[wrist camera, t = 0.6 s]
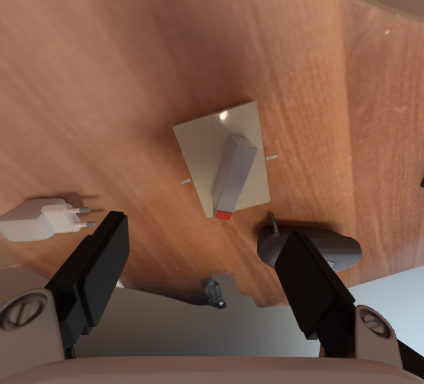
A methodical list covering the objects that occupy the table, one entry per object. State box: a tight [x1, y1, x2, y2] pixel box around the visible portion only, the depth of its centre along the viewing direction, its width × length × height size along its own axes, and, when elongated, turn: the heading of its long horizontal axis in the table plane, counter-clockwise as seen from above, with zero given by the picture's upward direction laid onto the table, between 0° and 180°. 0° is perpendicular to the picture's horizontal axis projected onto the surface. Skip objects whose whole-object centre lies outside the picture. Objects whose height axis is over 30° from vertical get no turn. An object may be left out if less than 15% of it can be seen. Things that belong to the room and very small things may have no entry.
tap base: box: [173, 100, 278, 218], centre depth 24 cm, size 14×13×3 cm
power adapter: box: [0, 198, 97, 242], centre depth 26 cm, size 11×5×6 cm, turn 92°
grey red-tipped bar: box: [212, 133, 258, 221], centre depth 21 cm, size 9×2×5 cm, turn 166°
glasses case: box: [257, 213, 362, 272], centre depth 31 cm, size 18×10×8 cm, turn 84°
